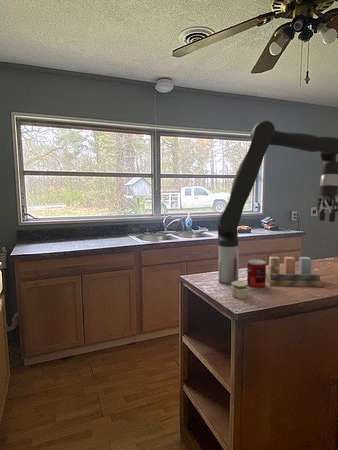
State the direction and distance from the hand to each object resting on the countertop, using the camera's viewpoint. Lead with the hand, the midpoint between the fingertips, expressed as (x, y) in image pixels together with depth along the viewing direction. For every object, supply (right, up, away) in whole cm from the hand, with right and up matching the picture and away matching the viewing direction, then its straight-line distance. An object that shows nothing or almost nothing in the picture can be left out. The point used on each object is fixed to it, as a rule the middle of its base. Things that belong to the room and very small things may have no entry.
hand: (326, 221), depth 127 cm
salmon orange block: (-13, -25, +8) cm, 30 cm away
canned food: (-32, -29, 0) cm, 43 cm away
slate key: (-7, -25, +7) cm, 27 cm away
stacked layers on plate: (-43, -31, -13) cm, 54 cm away
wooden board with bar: (-14, -28, +5) cm, 32 cm away
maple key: (-20, -25, +9) cm, 34 cm away
